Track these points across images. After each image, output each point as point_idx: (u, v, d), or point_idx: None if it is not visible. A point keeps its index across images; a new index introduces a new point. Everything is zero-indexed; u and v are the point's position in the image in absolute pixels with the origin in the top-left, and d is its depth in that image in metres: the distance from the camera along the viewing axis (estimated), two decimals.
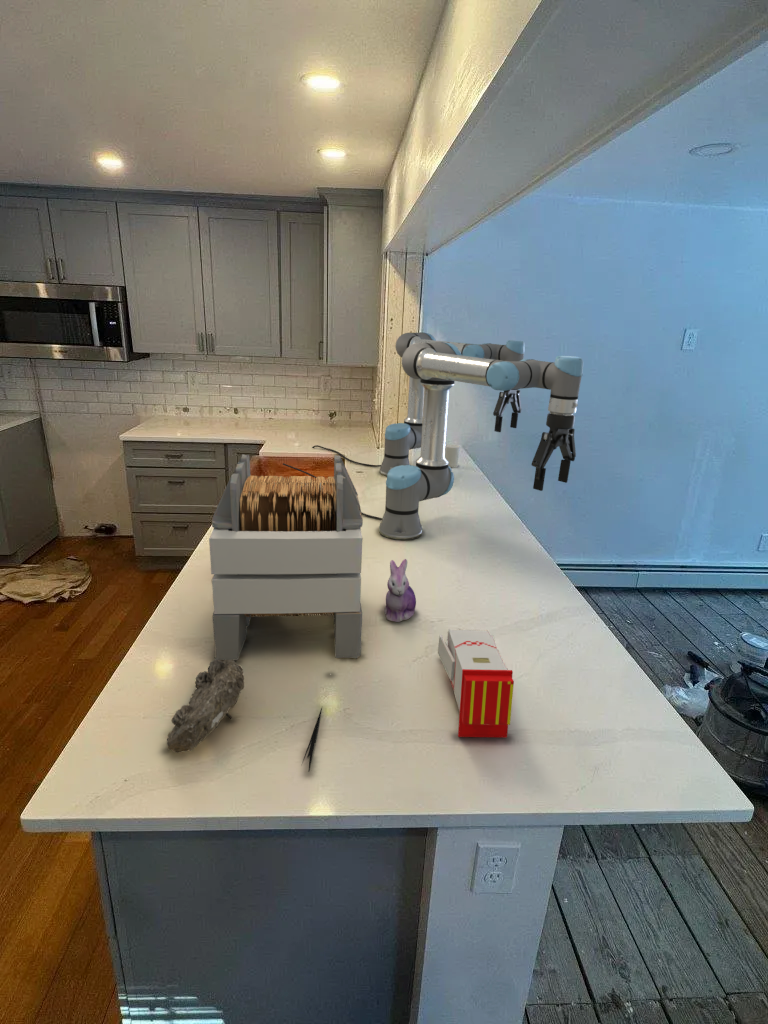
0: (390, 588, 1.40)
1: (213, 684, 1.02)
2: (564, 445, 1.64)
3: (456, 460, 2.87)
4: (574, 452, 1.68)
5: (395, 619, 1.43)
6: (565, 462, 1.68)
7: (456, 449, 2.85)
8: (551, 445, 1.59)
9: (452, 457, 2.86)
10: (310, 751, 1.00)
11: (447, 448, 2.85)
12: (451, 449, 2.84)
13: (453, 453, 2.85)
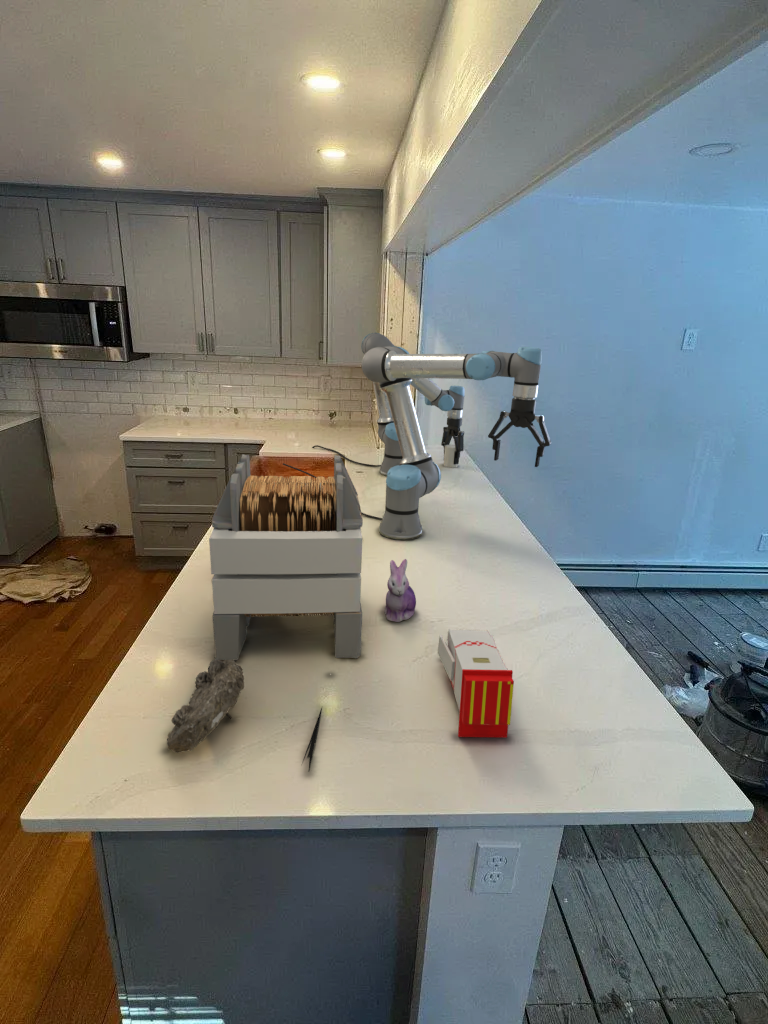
0: (390, 588, 1.40)
1: (213, 684, 1.02)
2: (512, 425, 1.85)
3: None
4: None
5: (395, 619, 1.43)
6: (499, 442, 1.88)
7: None
8: (533, 426, 1.82)
9: (452, 457, 2.86)
10: (310, 751, 1.00)
11: (447, 448, 2.85)
12: (451, 449, 2.84)
13: (453, 453, 2.85)
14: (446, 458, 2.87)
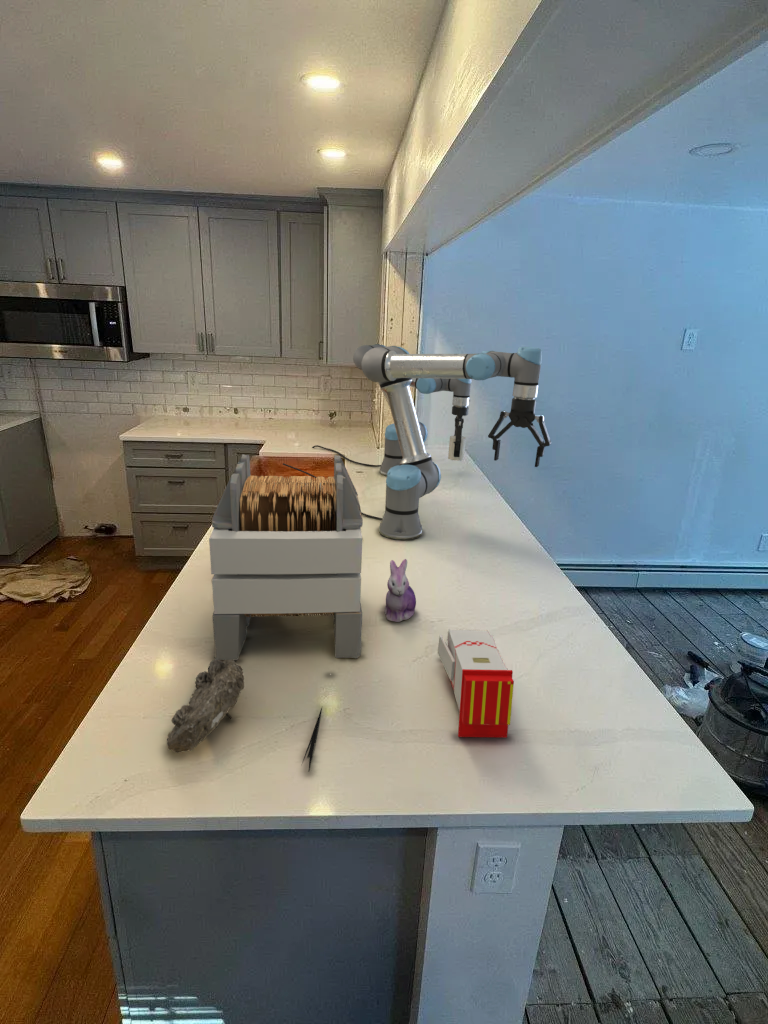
0: (390, 588, 1.40)
1: (213, 684, 1.02)
2: (512, 425, 1.85)
3: None
4: None
5: (395, 619, 1.43)
6: (499, 442, 1.88)
7: None
8: (533, 426, 1.82)
9: (453, 449, 2.63)
10: (310, 751, 1.00)
11: (450, 438, 2.64)
12: (452, 440, 2.62)
13: (454, 444, 2.62)
14: (449, 449, 2.66)
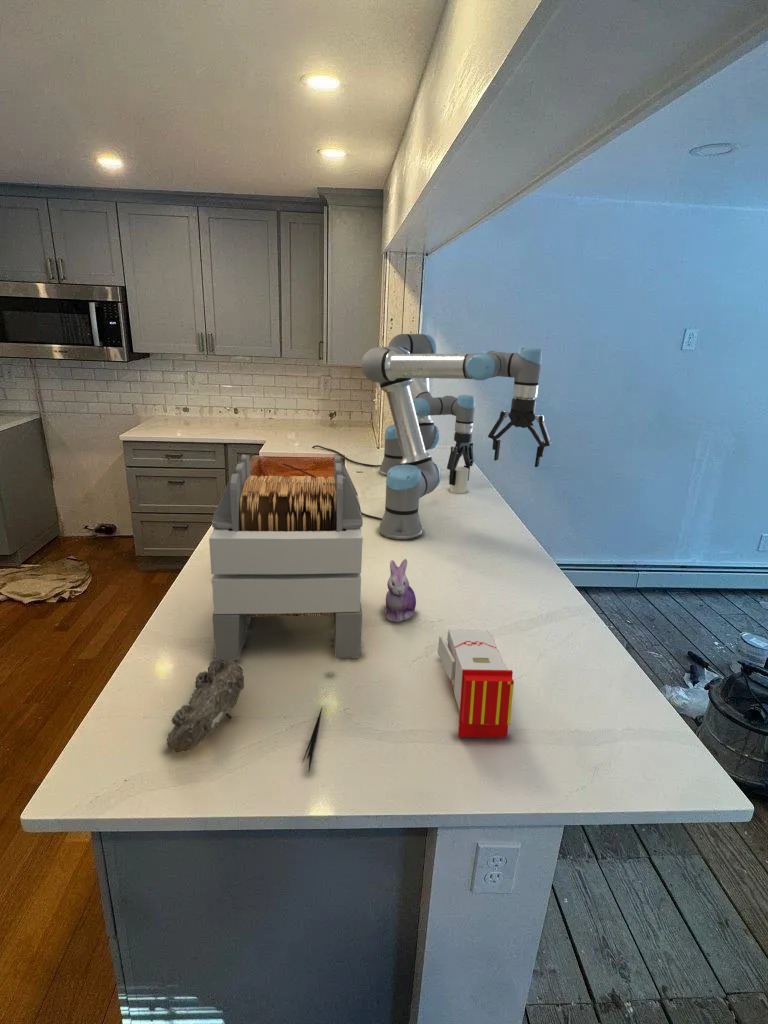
0: (390, 588, 1.40)
1: (213, 684, 1.02)
2: (512, 425, 1.85)
3: (455, 485, 2.47)
4: None
5: (395, 619, 1.43)
6: (499, 442, 1.88)
7: None
8: (533, 426, 1.82)
9: None
10: (310, 751, 1.00)
11: None
12: None
13: None
14: None
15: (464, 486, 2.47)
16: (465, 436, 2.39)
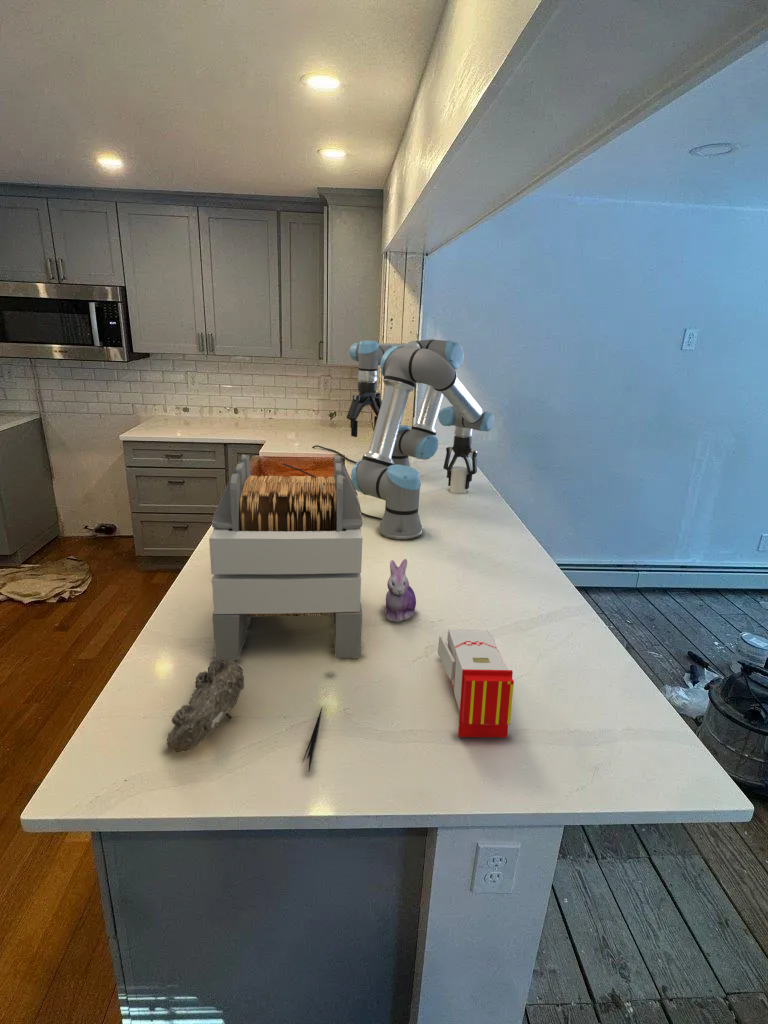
0: (390, 588, 1.40)
1: (213, 684, 1.02)
2: (457, 457, 2.47)
3: (455, 485, 2.47)
4: None
5: (395, 619, 1.43)
6: None
7: (454, 471, 2.45)
8: (468, 457, 2.45)
9: (451, 479, 2.48)
10: (310, 751, 1.00)
11: None
12: None
13: (452, 475, 2.47)
14: None
15: (464, 486, 2.47)
16: (368, 385, 2.21)
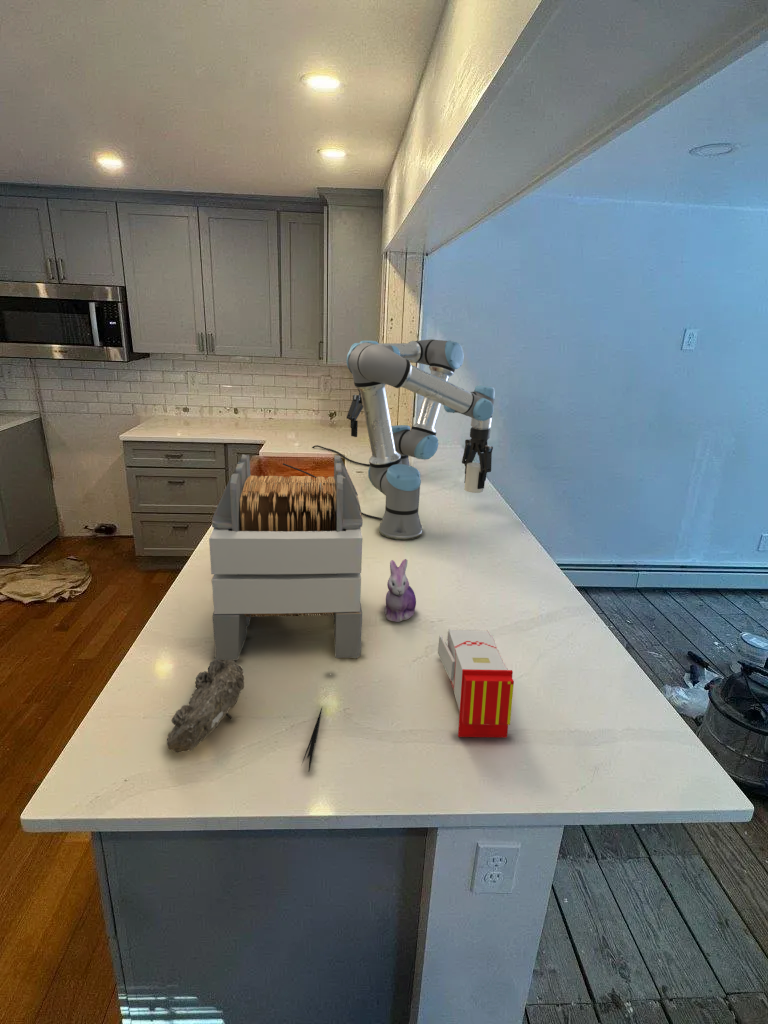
0: (390, 588, 1.40)
1: (213, 684, 1.02)
2: (476, 451, 2.20)
3: (466, 482, 2.20)
4: None
5: (395, 619, 1.43)
6: None
7: (467, 467, 2.19)
8: (484, 453, 2.16)
9: None
10: (310, 751, 1.00)
11: None
12: None
13: (466, 470, 2.21)
14: None
15: (476, 485, 2.19)
16: None
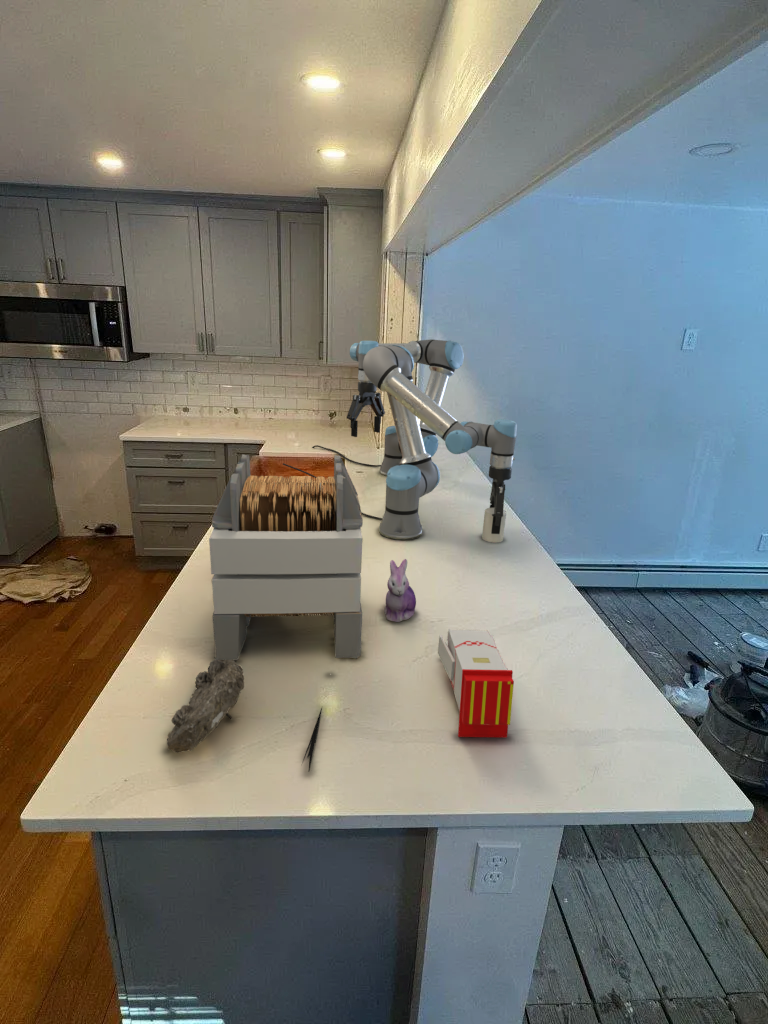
0: (390, 588, 1.40)
1: (213, 684, 1.02)
2: None
3: (483, 528, 1.99)
4: None
5: (395, 619, 1.43)
6: (494, 506, 2.01)
7: None
8: None
9: None
10: (310, 751, 1.00)
11: None
12: None
13: None
14: None
15: (489, 533, 1.96)
16: (368, 385, 2.21)
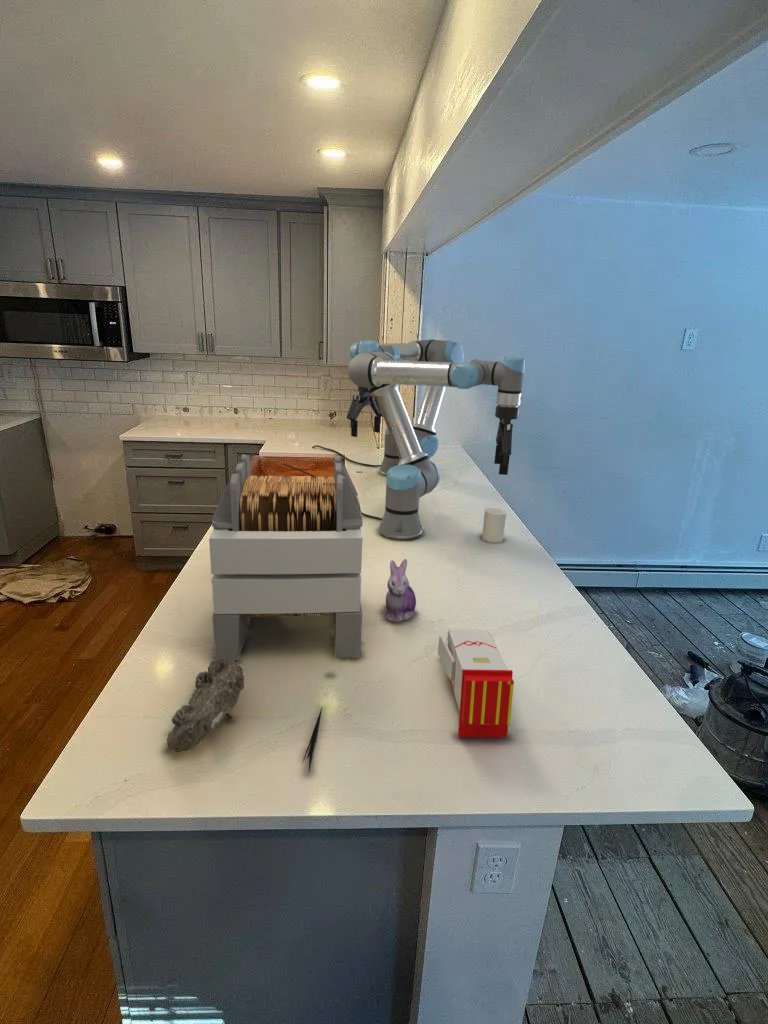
0: (390, 588, 1.40)
1: (213, 684, 1.02)
2: None
3: (483, 528, 1.99)
4: None
5: (395, 619, 1.43)
6: (500, 447, 1.95)
7: None
8: None
9: None
10: (310, 751, 1.00)
11: None
12: None
13: None
14: None
15: (489, 533, 1.96)
16: None
